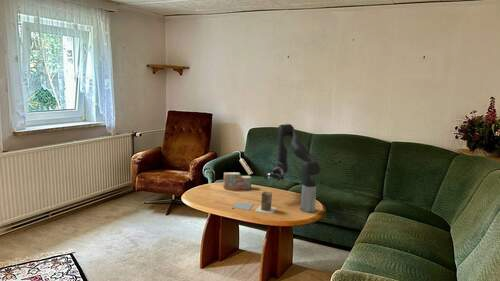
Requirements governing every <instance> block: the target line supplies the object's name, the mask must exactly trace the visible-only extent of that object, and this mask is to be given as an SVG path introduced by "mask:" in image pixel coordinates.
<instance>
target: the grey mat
mask: <svg viewBox="0 0 500 281" xmlns="http://www.w3.org/2000/svg"><path fill="white" fill-rule="evenodd" d="M254 205H255V204H254V203H250V202H249V203H247V202H241V201H240V202H239V201H237V202H236V203H235V204H234V205H233V206H231V209H233V210H234V209H238V210H246V211H250V210H251V209H252V208H253V206H254Z"/></svg>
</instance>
